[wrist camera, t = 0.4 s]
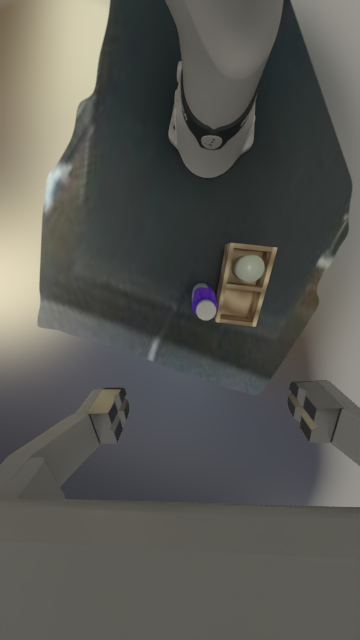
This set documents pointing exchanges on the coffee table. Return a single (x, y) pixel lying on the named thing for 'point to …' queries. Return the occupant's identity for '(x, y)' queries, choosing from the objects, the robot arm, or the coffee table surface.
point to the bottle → (204, 301)
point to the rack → (242, 286)
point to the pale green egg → (248, 268)
